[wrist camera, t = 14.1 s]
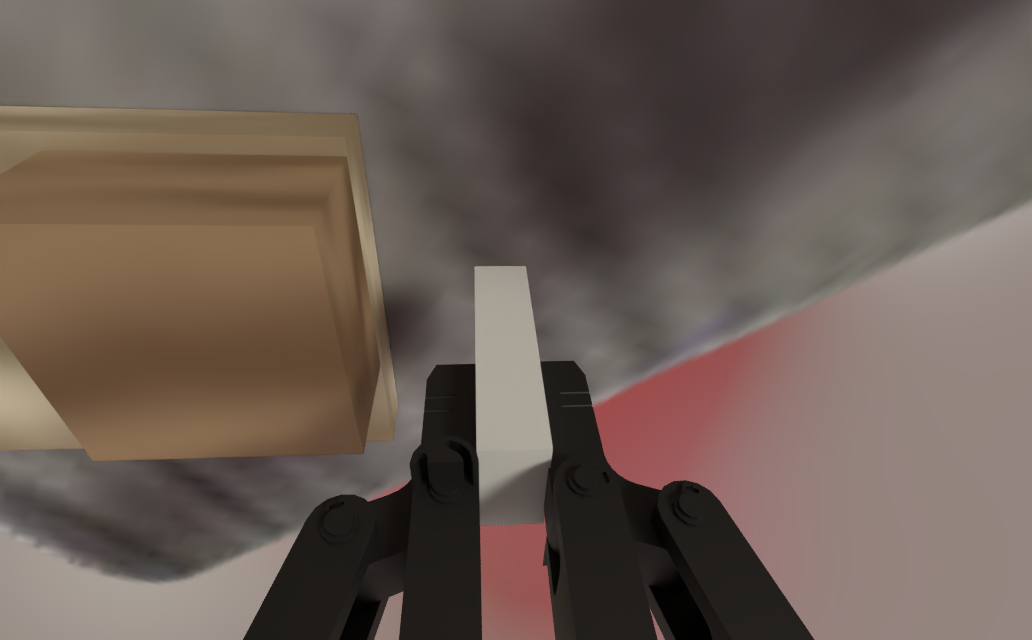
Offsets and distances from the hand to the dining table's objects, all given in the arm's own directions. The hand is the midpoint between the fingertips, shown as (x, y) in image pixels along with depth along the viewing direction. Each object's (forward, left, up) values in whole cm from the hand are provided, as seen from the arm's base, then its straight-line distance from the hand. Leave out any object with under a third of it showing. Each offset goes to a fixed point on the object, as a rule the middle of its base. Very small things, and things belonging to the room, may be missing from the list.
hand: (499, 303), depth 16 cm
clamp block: (0, -8, -2) cm, 8 cm away
